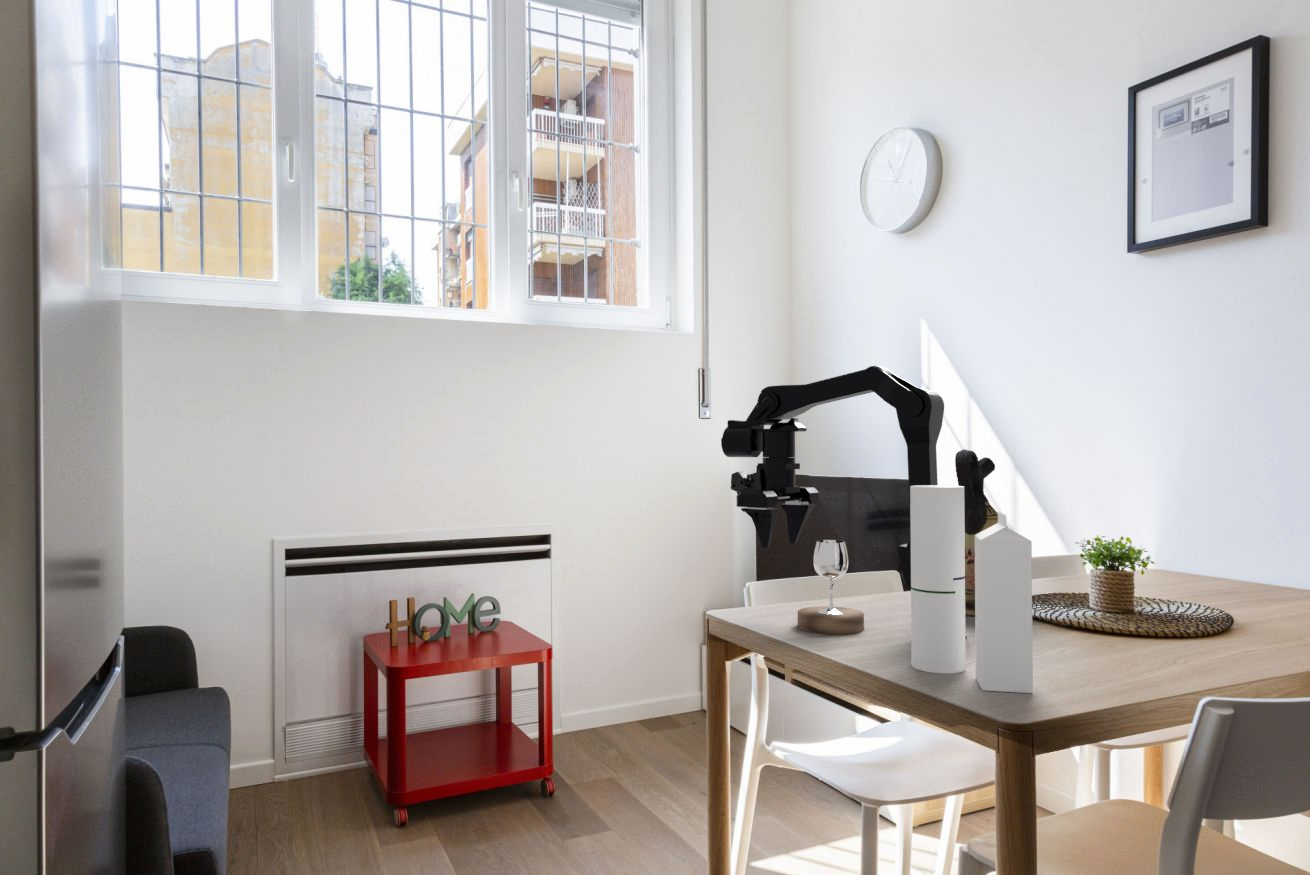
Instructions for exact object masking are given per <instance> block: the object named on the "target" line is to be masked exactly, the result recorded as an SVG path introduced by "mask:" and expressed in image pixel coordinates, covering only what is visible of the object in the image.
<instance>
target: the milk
mask: <svg viewBox="0 0 1310 875" xmlns="http://www.w3.org/2000/svg"><path fill="white" fill-rule="evenodd" d="M997 513H998V523H997V524H995V525H993V526H991V527H989V528H987V529H985V530H984V531H982V532H980V533H978V534H976V535H975V615H974V622H975V625H974V626H975V628H974V629H975V634H974V635H975V638H974V639H975V640H974V642H975V644H974V645H975V648H974V649H975V651H974V652H975V679H976V681H977V683H978V685H979V688H980V689H981V691H985V692H986V691H987V692H1002V693H1006V692H1007V693H1019V694H1020V693H1021V694H1033V693H1034V683H1033V682H1034V675H1033V674H1034V673H1033V672H1034V670H1033V668H1034V667H1033V666H1034V665H1033V663H1034V662H1033V657H1034V656H1033V579H1032V578H1033V574H1032V573H1033V570H1032V568H1033V567H1032V565H1033V561H1032V559H1033V558H1032V557H1033V556H1032V554H1033V553H1032V551H1033V550H1032V548H1033V547H1032V540H1030V539H1029V538H1027V537H1025V536H1023V535H1022V534H1019V533H1018V532H1016V531H1015V530H1013V529H1011V528H1009V527H1008V526H1007V527H1008V528H1007V527H1006V525H1007V514H1005V513H1003V512H1001V511H997Z"/></svg>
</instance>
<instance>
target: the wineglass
mask: <svg viewBox="0 0 1310 875" xmlns="http://www.w3.org/2000/svg"><path fill="white" fill-rule="evenodd" d="M815 543H816V544H815V547H814V553H813V567H814V571H815V573H816V574H817V575H819V576H820V577H822V578H824V579H827V580H829V581H828V583H827V588H828V593H829V604H828V607H827V608H826V609H822V610H819V611H818V613H820V614H825V615H841V614H844V613H845V612H844V611H841V610H838V609H836V608H835V607H836V606H835V605H834V603H833V592H834V587H835V584H834V582H833V581H834V580H836V579H840V578H842V577H843V576H845V574H846V572H847V571H848V568H849V556H848V555H849V554H848V549H847V545H846V542H845V540H840V539H819V540H817V541H816V542H815Z"/></svg>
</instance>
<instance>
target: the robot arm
mask: <svg viewBox="0 0 1310 875" xmlns="http://www.w3.org/2000/svg"><path fill="white" fill-rule="evenodd" d="M869 393H870V394H871V393H874V394H876V396H878V397H880V398H881V399H882V400H883V402H886V404H889V406H891V407H893V408H894V409H895V411H896V415H897V421H898V425H899V428H900V431H901V434H902V437H903V439H904V442H905V444H906V450H907V452H906V453H907V473H908V474H907V476H908V477H907V478H908V504H909V508H910V486H915V485H938V484H939V483H938V463H937V462H938V461H937V460H938V458H937V444H938V443H937V442H938V439H939V436H940V434H941V431H942V426H943V422H944V420H943V419H944V413H945V403H944V400H943V398H942V397H941V396H940V394H938V393H937V392H936V391H934V390H932V389H926V388H920V387H917V386H915V385H914V384H913V383H911V382H909V381H907V380H905V379H903V378H901V377H900V376H898V375H896V374H894V372H892V371H891V370H889V368H886V367H883V366H879V365H870V366H869V367H866V368H865V369H862V370H861V369H860V370H857V371H854V372H850V373H845V374H841V375H838V376H834V377H829V378H825V379H822V380H818V381H815V382H810V383H806V384H782V385H780V384H779V385H769V386H766V387H764V388H762V389H761V391H760V393H759V395H758V398H757V403H756V404H755V406H754V407H753V408H752V410H751V412H750V413H749V415H748V416H747V418H746V420H737V419H736V420H735V419H734V420H733V419H729V420H727V427H726V428H725V429H724V431H723V434H722V437H721V439H720V441H721V443H720V444H721V448H722V449H721V450H722V452H723V454H724V455H725V456H726V457H727V458H758V457H759V456H760V455H761V453H762V462H761V463H759V462H758V463H757V465H756V472H754V473H748V474H746V473H745V472H744V471H735V472H733V473H731V479H730V490H731V491H734V492H736V494H737V495H736V507H738V508H740V510H741V512H744V513H746V514H747V515H748V516H749V517H750V518H751V519H752V522H753V524H754V527H755V531H756V533H757V537H758V540H759V542H760V546H761V548H762V549H766V550H767V549H769V547H770V544H771V541H772V538H773V532H774V529H775V524H776V520H777V516H778V512H779V509H778V508H776V506H777V504H778V503H779V506H780V507H781V509H782V510H783V511H784V513H785V514H786V515H785V516H786V525H787V536H788V542H789V544H792V545H793V544H797V542H798V539H799V537H800V535H801V533H802V530H803V529H804V526H805V524H806V522H807V520H808V518H809V517H810V516H811V513H812V511H813V509H814V508H815V507H816V505H815V504H818V503H819V502H820V492H819V491H818V490H817V488H816V487H814V486H813V487H812V486H799V485H798V486H796V470H800V469H801V463H800V462H796V433H797V432H807V431H808V428H807V427H806V426H805V425H803V423H801V422H800V420H799V418H797V417H798V416H800V415H802V414H804V413H807V412H808V411H810V410H811V409H812V408H813V409H814V407H818V406H820V405H824V404H829V403H833V402H838V401H840V400H841V401H842V400H846V399H850V398H854V397H859V396H863V395H867V394H869ZM795 417H796V418H795ZM783 420H789V421H786V422H782V421H783ZM765 426H770V427H769V428H765ZM780 503H781V504H780ZM909 528H910V530H909V531H910V532H909V538H908V540H907V543H904V544H900V545H898V546H897V553H898V557H899V558H898V559H899V566H898V568H897V572H898V573H900V572H901V575H902V576H901V577H902V580H903V583H904V584H906V586H908V588H909V589H910V590H911V521H910V520H909ZM965 588H966V587H965ZM965 638H966V640H967V639H968V636H967V635H966V634H965Z"/></svg>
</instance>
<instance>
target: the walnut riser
mask: <svg viewBox="0 0 1310 875" xmlns="http://www.w3.org/2000/svg"><path fill="white" fill-rule="evenodd" d="M828 606H829V605H828ZM828 606H824V605H823V606H820V605H819V606H808V607H803V608H800V609H798V610H797V628H798V629H800V630H802V631H803V632H808V633H814V634H819V635H820V634H822V635H850V634H851V633H852V634H857V633H861V632H863V631H864V630H865V612H863V611H862V610H860V609H859V610H858V609H856V608H850V607H844V606H843V607H842V606H834V607H835V608H836V609H838V610H841V611H844V612H845V613H844V614H841V615H825V614H820V613H818V611H819V610H822V609H826V608H827V607H828Z"/></svg>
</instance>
